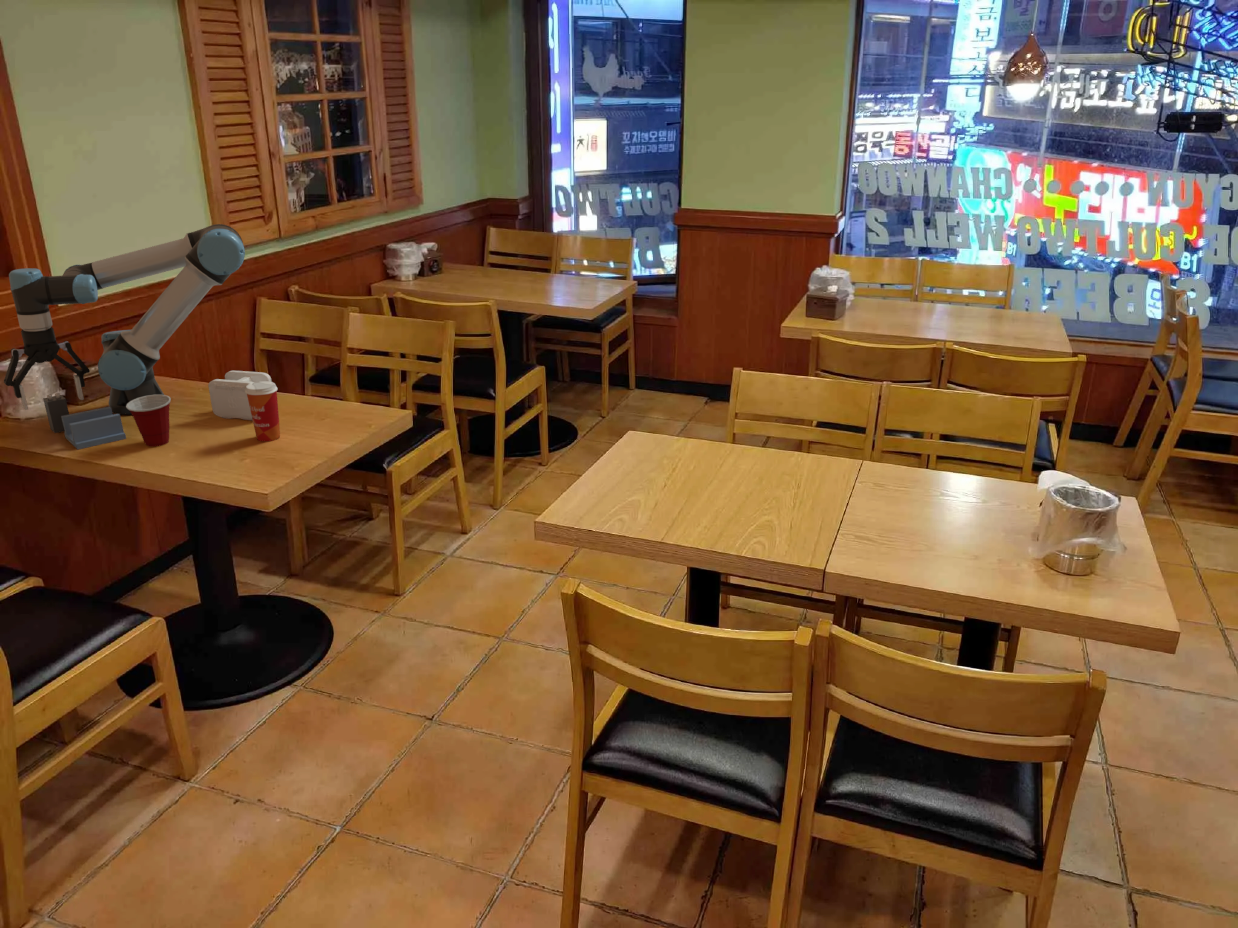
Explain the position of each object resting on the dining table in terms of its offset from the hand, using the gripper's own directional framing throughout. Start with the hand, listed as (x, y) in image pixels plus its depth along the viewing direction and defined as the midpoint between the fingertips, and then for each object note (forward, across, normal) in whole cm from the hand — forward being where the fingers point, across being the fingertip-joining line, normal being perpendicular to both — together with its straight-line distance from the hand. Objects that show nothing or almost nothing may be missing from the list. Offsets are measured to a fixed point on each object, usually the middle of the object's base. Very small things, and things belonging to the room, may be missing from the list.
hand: (53, 403), depth 253 cm
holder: (+7, -6, +14) cm, 17 cm away
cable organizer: (+7, -44, +22) cm, 49 cm away
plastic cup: (+7, -16, +29) cm, 34 cm away
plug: (+8, 0, 0) cm, 8 cm away
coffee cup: (+7, -40, +45) cm, 61 cm away
